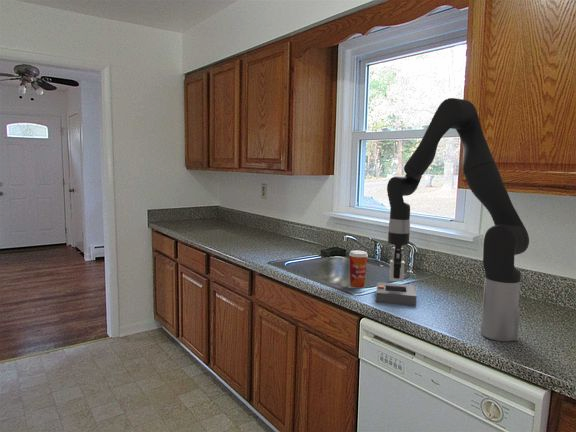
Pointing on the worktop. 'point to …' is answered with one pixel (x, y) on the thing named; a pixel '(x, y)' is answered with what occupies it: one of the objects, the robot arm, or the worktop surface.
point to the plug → (393, 271)
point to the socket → (396, 293)
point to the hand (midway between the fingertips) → (396, 276)
